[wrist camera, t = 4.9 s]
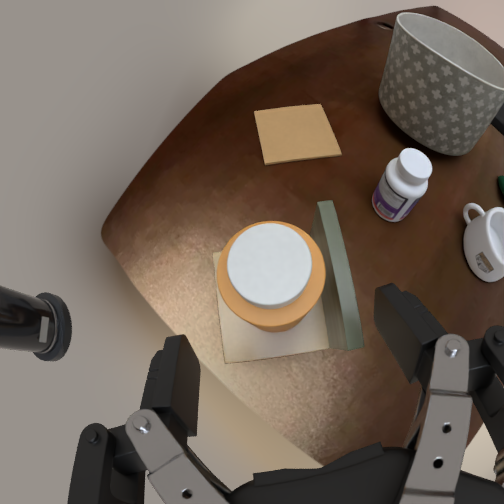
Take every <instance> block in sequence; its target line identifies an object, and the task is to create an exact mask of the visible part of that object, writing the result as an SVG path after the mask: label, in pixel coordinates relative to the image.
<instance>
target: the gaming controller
mask: <svg viewBox="0 0 504 504" xmlns="http://www.w3.org/2000/svg"><path fill="white" fill-rule="evenodd" d="M498 181H499V186H500V189H501V191H502V193H503V195H504V176H499V177H498Z"/></svg>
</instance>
